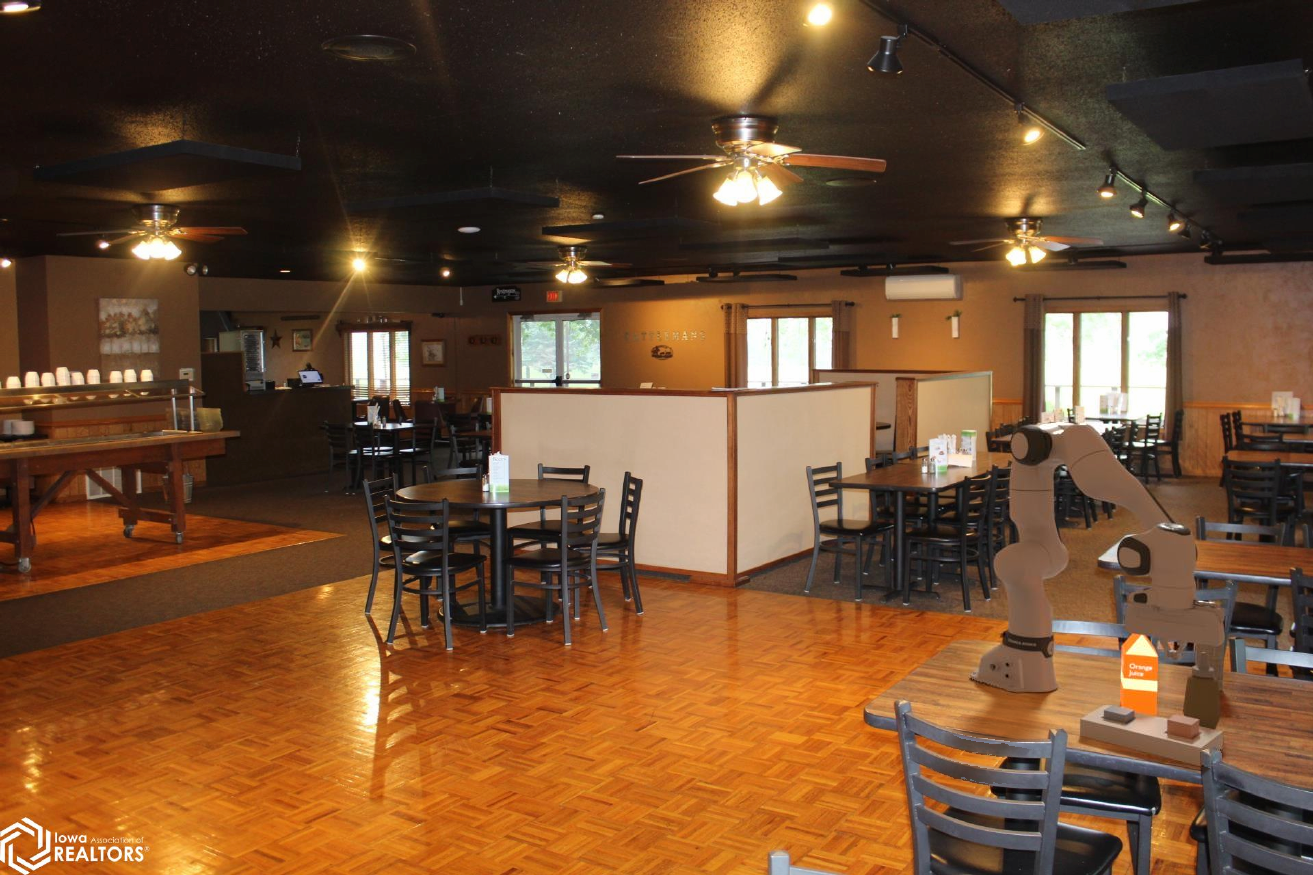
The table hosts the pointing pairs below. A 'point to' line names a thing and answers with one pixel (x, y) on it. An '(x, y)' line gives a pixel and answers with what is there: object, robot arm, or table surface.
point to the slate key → (1119, 714)
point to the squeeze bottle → (1202, 695)
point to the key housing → (1149, 736)
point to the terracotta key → (1183, 726)
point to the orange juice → (1139, 675)
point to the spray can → (1213, 658)
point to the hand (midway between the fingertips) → (1173, 658)
